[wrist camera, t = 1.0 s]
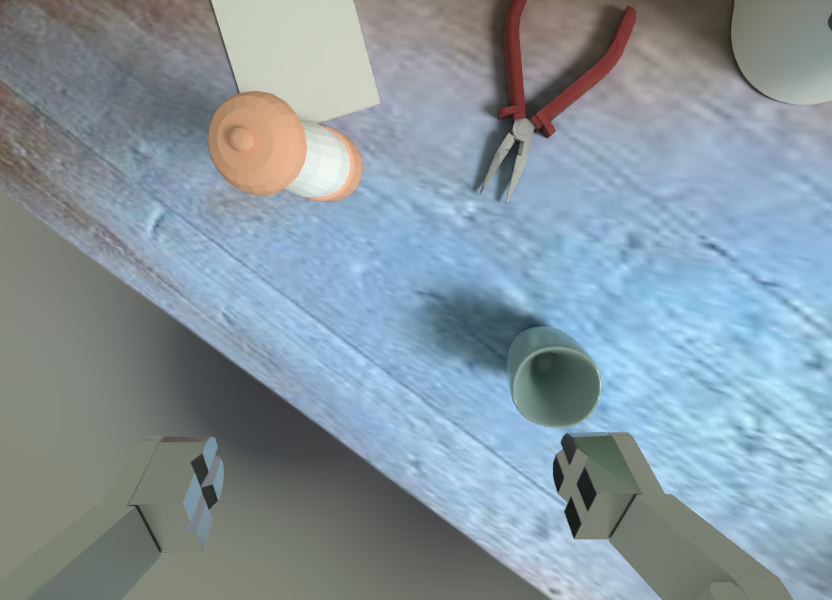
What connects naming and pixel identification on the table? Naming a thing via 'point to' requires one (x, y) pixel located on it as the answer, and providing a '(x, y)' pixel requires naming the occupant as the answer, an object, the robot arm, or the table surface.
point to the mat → (300, 54)
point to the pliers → (541, 120)
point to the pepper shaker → (280, 150)
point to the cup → (552, 377)
